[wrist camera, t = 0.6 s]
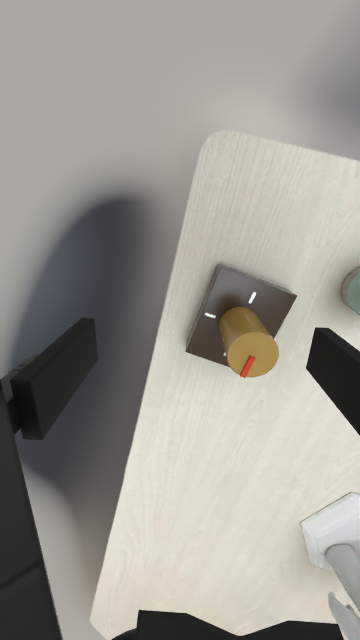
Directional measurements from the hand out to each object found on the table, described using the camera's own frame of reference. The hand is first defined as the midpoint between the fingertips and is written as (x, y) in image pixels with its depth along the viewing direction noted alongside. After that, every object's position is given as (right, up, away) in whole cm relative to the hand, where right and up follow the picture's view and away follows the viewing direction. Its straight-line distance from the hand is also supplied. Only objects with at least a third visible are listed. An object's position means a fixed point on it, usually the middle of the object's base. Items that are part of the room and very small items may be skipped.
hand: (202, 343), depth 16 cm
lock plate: (+6, +2, +20) cm, 21 cm away
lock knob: (+6, +1, +17) cm, 18 cm away
